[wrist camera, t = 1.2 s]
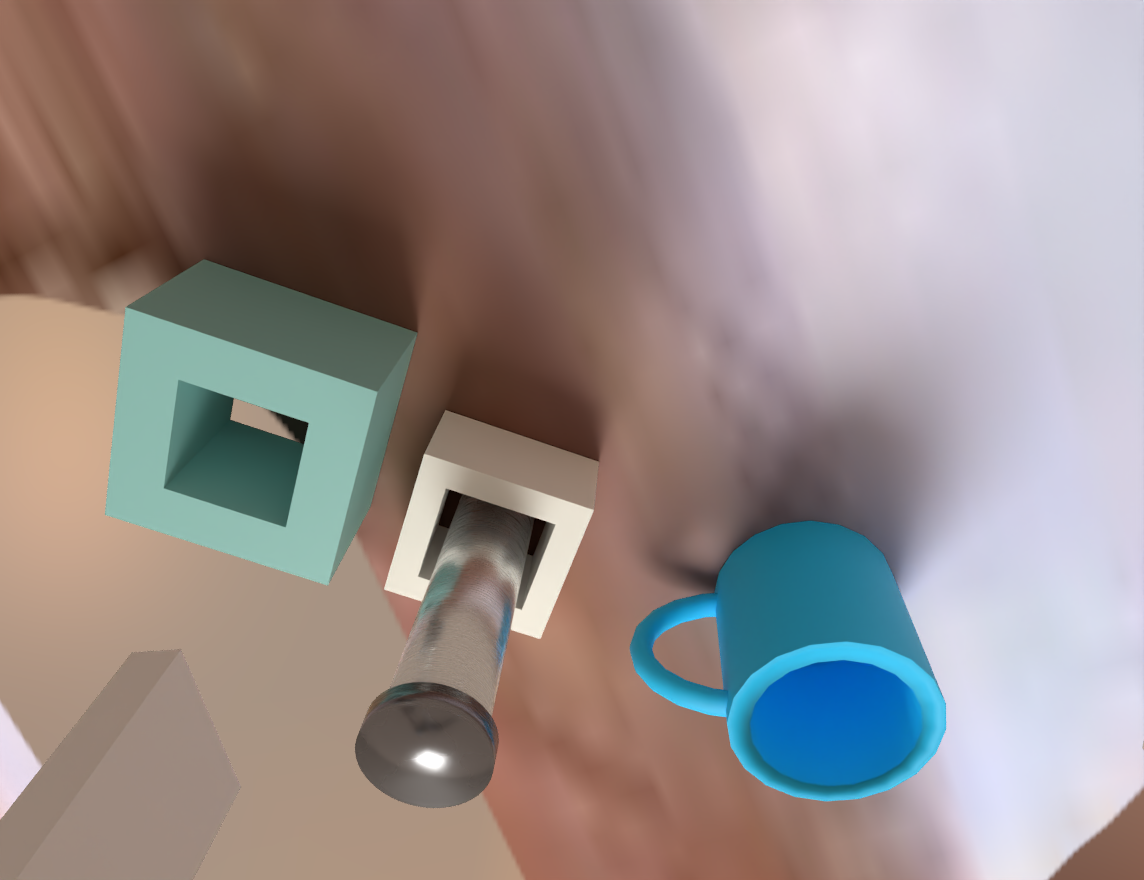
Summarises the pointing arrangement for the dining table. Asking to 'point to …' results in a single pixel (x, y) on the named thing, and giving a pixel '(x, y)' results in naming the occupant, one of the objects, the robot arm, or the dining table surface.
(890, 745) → the mug
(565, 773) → the dining table surface
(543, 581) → the mount
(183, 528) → the socket
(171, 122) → the dining table surface
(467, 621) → the pin
